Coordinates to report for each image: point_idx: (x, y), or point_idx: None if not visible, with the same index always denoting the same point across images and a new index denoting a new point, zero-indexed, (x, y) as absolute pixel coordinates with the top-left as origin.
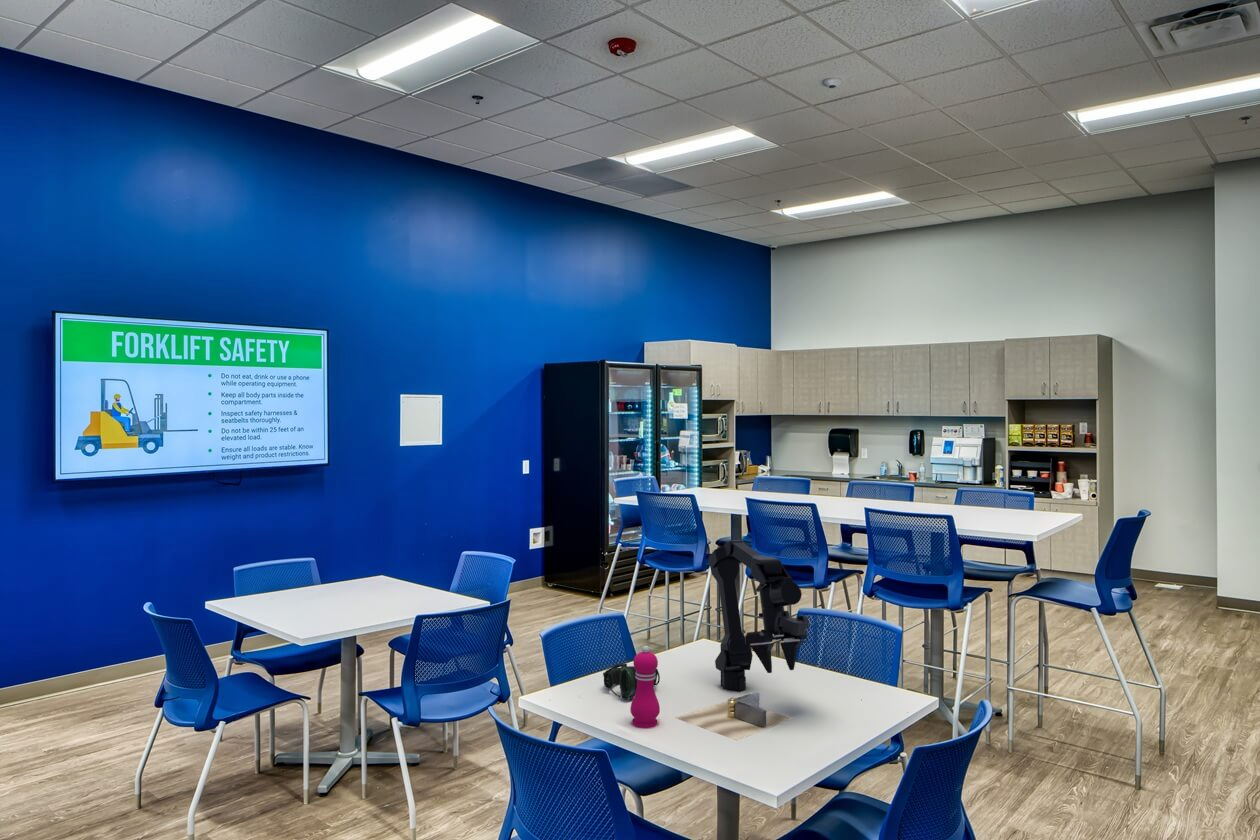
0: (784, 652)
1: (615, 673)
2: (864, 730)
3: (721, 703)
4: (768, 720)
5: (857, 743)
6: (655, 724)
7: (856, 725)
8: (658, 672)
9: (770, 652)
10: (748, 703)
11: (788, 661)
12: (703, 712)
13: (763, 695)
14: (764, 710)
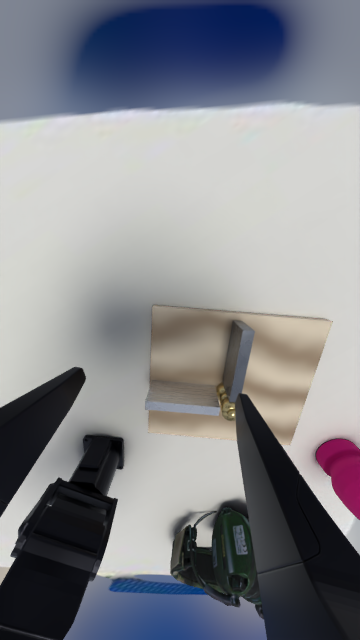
0: (18, 480)
1: (212, 576)
2: (73, 158)
3: (180, 432)
4: (196, 335)
5: (158, 122)
6: (346, 447)
7: (62, 193)
8: (191, 555)
9: (309, 550)
10: (184, 393)
11: (58, 413)
12: None
13: (78, 411)
14: (245, 333)
